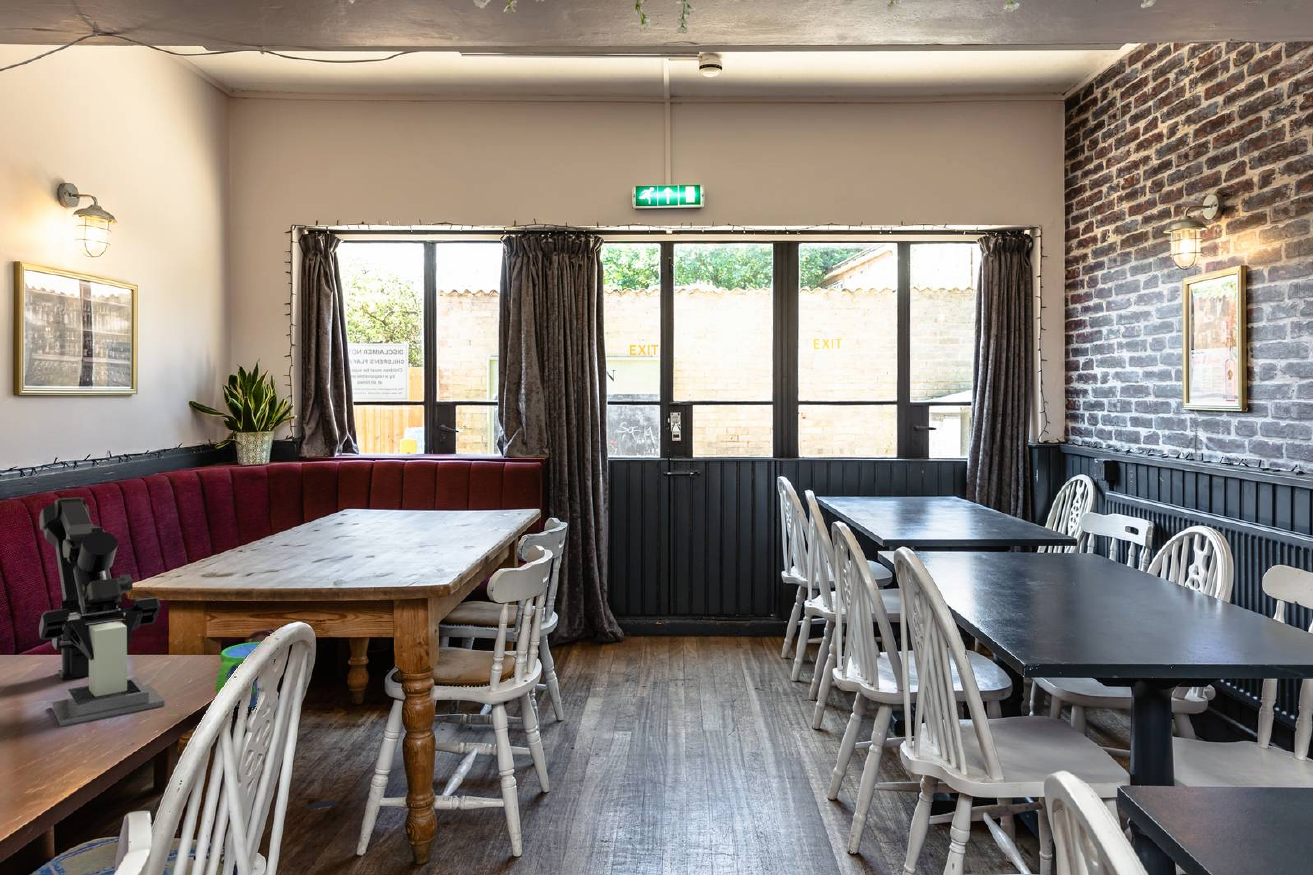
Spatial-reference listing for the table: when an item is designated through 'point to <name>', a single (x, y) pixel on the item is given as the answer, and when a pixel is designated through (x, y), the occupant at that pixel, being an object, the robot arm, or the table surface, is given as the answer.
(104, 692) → the sage block
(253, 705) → the snack cup
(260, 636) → the icecream
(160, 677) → the table surface
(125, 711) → the grey rectangular tray
